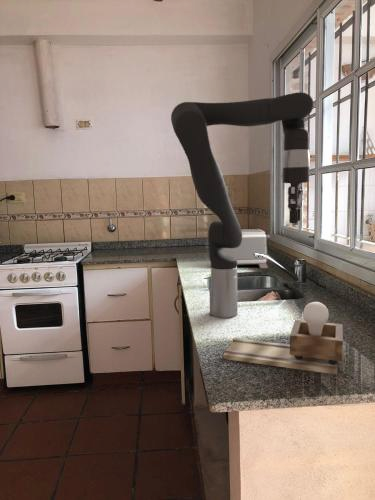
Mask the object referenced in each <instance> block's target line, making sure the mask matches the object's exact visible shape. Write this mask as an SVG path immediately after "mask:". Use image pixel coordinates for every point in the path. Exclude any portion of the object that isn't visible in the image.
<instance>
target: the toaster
mask: <svg viewBox="0 0 375 500" xmlns="http://www.w3.org/2000/svg"><path fill="white" fill-rule="evenodd" d="M241 231H242V242H241V244H240V246H239V247H237V248H223V249H224V251H225V252H226V253H227V254H228V255H230V256H232V257H234V258H235V259H236V260H237V266H238V265H258V267H259V269H268V268H269V266H268V264H267V257H266V258H264V257H262V256H259V257H258V258H255V257H254V255H253V253H259V254H264V255H266V256H267V255H268V247H267V239H270V238H271V236H270V234H266V232H265V231H264V230H262V229H260V228H256V229H255V228H254V229H253V228H252V229H249V228H248V229H244V228H243V229H241Z"/></svg>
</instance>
